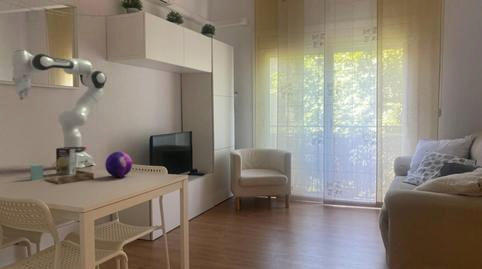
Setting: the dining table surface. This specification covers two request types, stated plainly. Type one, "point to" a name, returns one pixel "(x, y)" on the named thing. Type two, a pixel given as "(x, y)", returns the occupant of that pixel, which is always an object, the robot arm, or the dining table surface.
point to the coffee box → (65, 161)
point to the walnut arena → (72, 177)
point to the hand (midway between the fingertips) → (23, 99)
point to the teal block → (36, 172)
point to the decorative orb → (118, 164)
